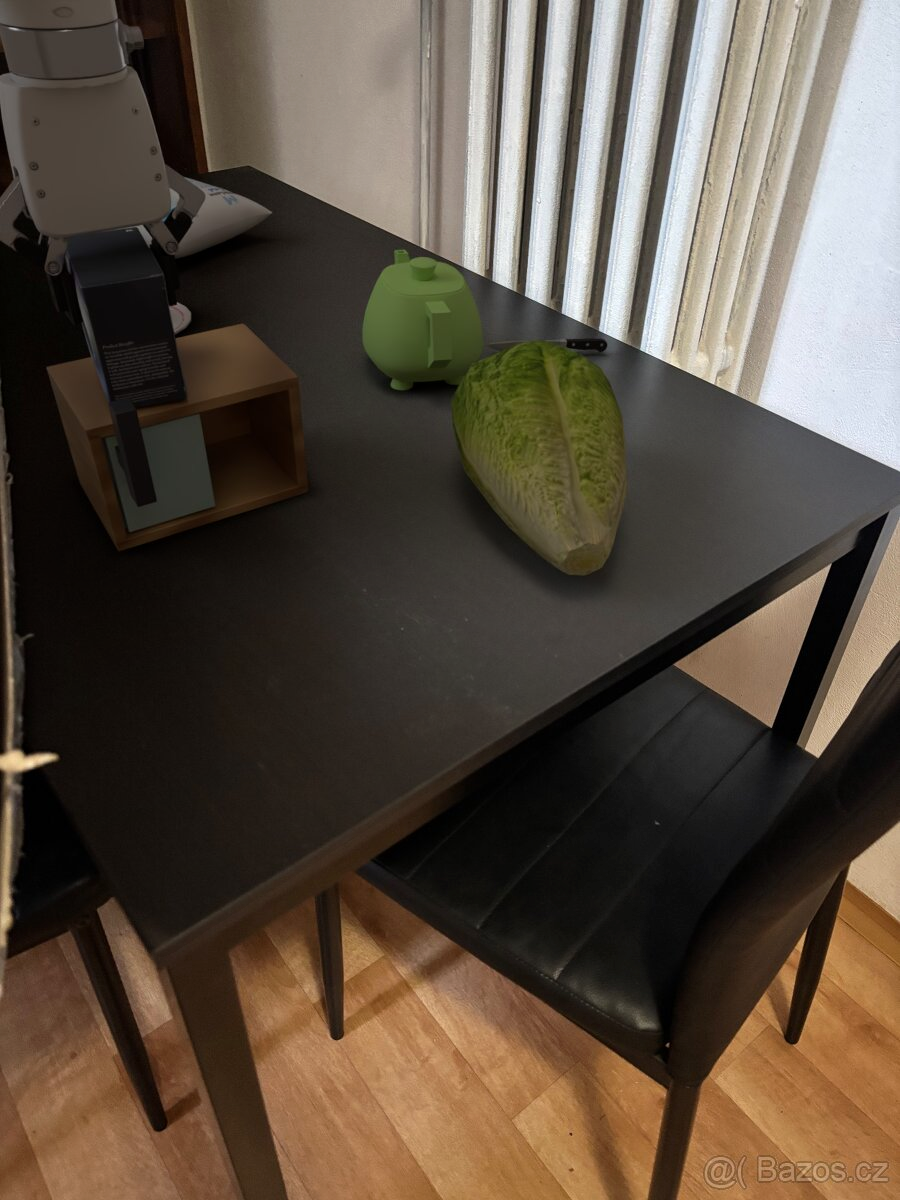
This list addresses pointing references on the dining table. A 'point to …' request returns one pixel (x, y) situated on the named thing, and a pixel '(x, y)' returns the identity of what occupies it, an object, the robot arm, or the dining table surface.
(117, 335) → the small box
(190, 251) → the pouch
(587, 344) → the knife
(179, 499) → the sliding door
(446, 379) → the teapot
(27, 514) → the dining table surface
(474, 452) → the lettuce
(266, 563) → the dining table surface
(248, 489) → the cabinet
